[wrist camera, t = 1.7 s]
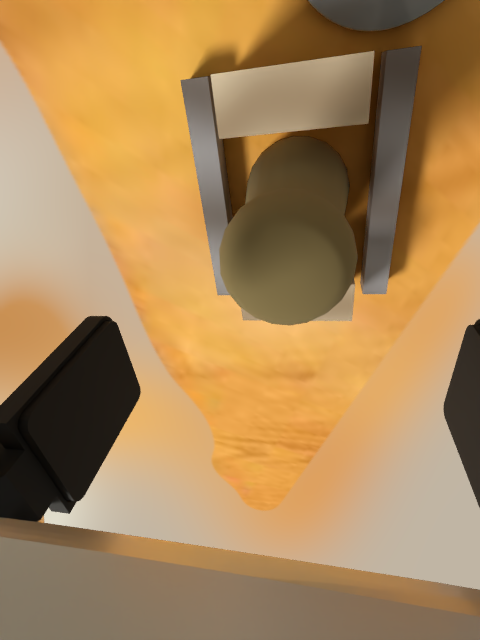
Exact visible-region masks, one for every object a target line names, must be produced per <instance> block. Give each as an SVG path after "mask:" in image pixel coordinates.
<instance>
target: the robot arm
mask: <svg viewBox="0 0 480 640" xmlns="http://www.w3.org/2000/svg"><path fill="white" fill-rule="evenodd" d="M139 397H140V386H139V383H138V380H137V378H136V374H135V372H134V369H133V366H132V363H131V361H130V358H129V355H128V352H127V350H126V347H125V344H124V342H123V339H122V336H121V333H120V330H119V327H118V325H117V323H116V322H114V321H112V319H111V318H110V317H107V316H90V317H87V318H86V319H85V320H84V321H83V322H82V323H81V324H80V325H79V326H78V327H77V328H76V329H75V330H74V331H73V332H72V333H71V334H70V335H69V336H68V337H67V338H66V339H65V340H64V341H63V342H62V343H61V344H60V345H59V346H58V347H57V348H56V349H55V350H54V351H53V352H52V353H51V354H50V355H49V356H48V357H47V358H46V360H44V361H43V363H42V364H41V365H40V366H39V367H38V368H37V369H36V370H35V371H34V372H33V373H32V374H31V375H30V376H29V377H28V378H27V379H26V380H25V381H24V382H23V383H22V384H21V385H20V386H19V387H18V388H17V389H16V390H15V391H14V392H13V393H12V394H11V395H10V396H9V397H8V398H7V399H6V400H5V401H4V402H3V403H2V404H1V405H0V640H480V590H478V589H472V588H466V587H460V586H454V585H449V584H443V583H437V582H431V581H425V580H418V579H412V578H405V577H399V576H392V575H386V574H380V573H373V572H366V571H361V570H354V569H348V568H341V567H335V566H329V565H322V564H316V563H309V562H303V561H297V560H290V559H284V558H277V557H270V556H264V555H257V554H250V553H244V552H237V551H231V550H224V549H218V548H211V547H204V546H198V545H191V544H184V543H178V542H171V541H164V540H158V539H151V538H144V537H138V536H131V535H124V534H117V533H110V532H103V531H96V530H89V529H83V528H75V527H68V526H62V525H55V524H48V523H44V514H45V512H46V510H47V509H48V507H49V508H50V510H51V511H55V512H62V513H68V514H70V512H71V510H72V509H73V507H74V505H75V503H76V502H77V501H79V500H81V499H82V498H83V497H84V495H85V493H86V492H87V490H88V488H89V486H90V484H91V483H92V481H93V479H94V477H95V476H96V474H97V472H98V470H99V469H100V467H101V465H102V463H103V461H104V460H105V458H106V456H107V454H108V453H109V451H110V449H111V447H112V446H113V444H114V442H115V440H116V438H117V436H118V435H119V433H120V431H121V430H122V428H123V426H124V424H125V422H126V421H127V419H128V417H129V415H130V413H131V412H132V410H133V408H134V406H135V405H136V402H137V401H138V399H139ZM444 416H445V419H446V421H447V424H448V427H449V429H450V432H451V435H452V437H453V440H454V442H455V445H456V447H457V450H458V453H459V455H460V458H461V460H462V463H463V465H464V468H465V471H466V473H467V476H468V479H469V481H470V484H471V486H472V489H473V492H474V494H475V497H476V499H477V502H478V505H479V507H480V319H479V320H477V321H476V323H475V325H469V326H468V327H467V329H466V331H465V334H464V338H463V341H462V344H461V349H460V351H459V355H458V358H457V361H456V365H455V368H454V372H453V375H452V379H451V381H450V385H449V388H448V392H447V395H446V398H445V402H444Z"/></svg>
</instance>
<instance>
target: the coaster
mask: <svg viewBox="0 0 480 640" xmlns="http://www.w3.org/2000/svg"><path fill="white" fill-rule="evenodd" d="M443 1H444V0H308V2H309V3H310V4H311V5H312V6H313V7H314V8H315V9H316V10H317V11H318V12H319V13H320V14H321V15H322V16H324V17H325V18H327V19H328V20H329V21H331V22H333V23H335V24H337V25H339V26H341V27H344V28H348V29H351V30H355V31H366V32H371V31H382V30H387V29H391V28H395V27H398V26H400V25H403V24H406V23H408V22H410V21H412V20H414V19H416V18H418V17H420V16H422V15H424V14H425V13H427V12H429V11H430V10H432V9H433V8H434V7H436V6H437V5H439V4H440V3H442V2H443Z"/></svg>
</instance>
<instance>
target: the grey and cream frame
mask: <svg viewBox="0 0 480 640" xmlns="http://www.w3.org/2000/svg"><path fill="white" fill-rule="evenodd" d="M421 47H422V46H416V47H409V48H402V49H395V50H388V51H384V52H382V56H381V66H380V77H379V88H378V99H377V109H376V120H375V131H374V142H373V152H372V163H371V174H370V185H369V195H368V206H367V217H366V228H365V238H364V249H363V260H362V271H361V281H360V283H361V288H362V293H363V294H386V291H387V284H388V277H389V270H390V263H391V256H392V249H393V242H394V235H395V229H396V222H397V215H398V208H399V201H400V194H401V187H402V180H403V173H404V166H405V159H406V152H407V145H408V138H409V131H410V124H411V117H412V110H413V103H414V96H415V89H416V82H417V75H418V68H419V61H420V54H421ZM373 63H374V51H370V52H363V53H356V54H349V55H342V56H335V57H328V58H322V59H315V60H308V61H301V62H294V63H287V64H280V65H273V66H266V67H259V68H252V69H245V70H238V71H231V72H224V73H217V74H211V76H207V77H200V78H193V79H186V80H181V86H182V92H183V97H184V103H185V109H186V115H187V120H188V126H189V132H190V138H191V143H192V149H193V155H194V161H195V166H196V172H197V178H198V184H199V190H200V195H201V201H202V207H203V213H204V218H205V224H206V230H207V236H208V241H209V247H210V253H211V259H212V265H213V270H214V276H215V282H216V288H217V293H218V295H230V294H229V293H228V292H227V289H226V287H225V284H224V282H223V279H222V277H221V274H220V256H219V248H220V245H221V241H222V238H223V235H224V231H225V229H226V227H227V226H228V224H229V223H230V221H231V220H232V219H233V216H232V208H231V200H230V192H229V184H228V176H227V168H226V161H225V153H224V145H223V139H225V138H234V137H244V136H254V135H263V134H273V133H283V132H292V131H302V130H311V129H321V128H331V127H340V126H350V125H360V124H368V123H369V111H370V99H371V87H372V75H373ZM354 291H355V282H354V278H353V281H352V284H351V286H350V287H349V289H348V291H347V292H346V294H345V296H344V297H343V299H342V300H341V301H340V302H339V303H338V304H337V305H336V306H335V307H333V308H332V309H331V310H330V311H329V312H328V313H326V314H324V315H322V316H320V317H318V318H316V319H313V320H311V321H352V315H353V303H354ZM241 309H242V308H241ZM242 317H243V320H260V319H257V318H255V317H254V316H252V315H251V314H249V313H248V312H246V311H245V310H244V309H242Z"/></svg>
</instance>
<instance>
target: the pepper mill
mask: <svg viewBox="0 0 480 640" xmlns="http://www.w3.org/2000/svg"><path fill="white" fill-rule="evenodd" d="M349 187H350V184H349V178H348V172H347V168H346V166H345V164H344V162H343V161H342V159H341V157H340V155H339V154H338V153H337V152H336V151H335V150H334V149H333V148H332V147H330V146H329V145H328V144H327V143H326V142H323V141H321V140H318V139H315V138H313V137H310V136H292V137H289V138H286V139H283V140H280V141H277V142H275V143H274V144H273V145H271V146H270V147H269V148H267V149H266V150H265V151H264V152H262V153H261V155H260V156H259V158H258V159H257V161H256V162H255V164H254V165H253V167H252V170H251V173H250V176H249V179H248V183H247V192H246V201H245V205H243V206H242V207H241V208H240V209H239V210H238V212H237V213H236V214H235V216H234V217H233V219H232V220H231V221H230V223H229V224H228V226H227V227H226V229H225V231H224V235H223V238H222V241H221V245H220V248H219V256H220V274H221V277H222V279H223V282H224V284H225V287H226V289H227V292H228V293H229V294H230V295H231V296H232V298H233V299H234V300H235V301H236V303H237V304H238V305H239V306H240V307H241V308H242V309H244V310H245V311H246V312H248V313H249V314H251V315H252V316H254V317H255V318H257V319H260V320H263V321H266V322H268V323H271V324H280V325H295V324H301V323H307V322H309V321H311V320H313V319H316V318H318V317H320V316H322V315H324V314H326V313H328V312H329V311H330V310H331V309H332V308H333V307H335V306H336V305H337V304H338V303H339V302H340V301H341V300H342V299H343V297H344V296H345V294H346V292H347V291H348V289H349V287H350V286H351V284H352V281H353V278H354V274H355V269H356V264H357V259H358V255H357V249H356V243H355V237H354V233H353V230H352V228H351V227H350V225H349V223H348V221H347V220H346V218H345V216H344V214H345V210H346V205H347V199H348V193H349Z"/></svg>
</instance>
